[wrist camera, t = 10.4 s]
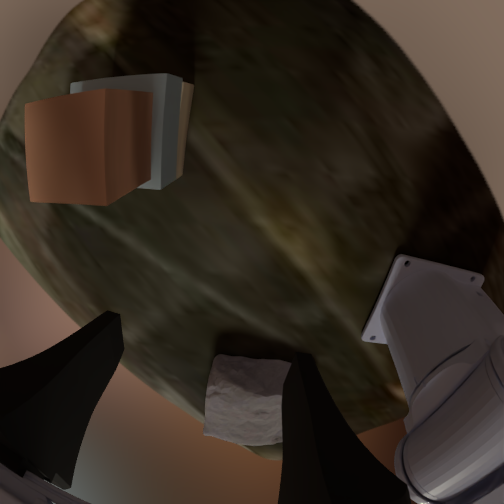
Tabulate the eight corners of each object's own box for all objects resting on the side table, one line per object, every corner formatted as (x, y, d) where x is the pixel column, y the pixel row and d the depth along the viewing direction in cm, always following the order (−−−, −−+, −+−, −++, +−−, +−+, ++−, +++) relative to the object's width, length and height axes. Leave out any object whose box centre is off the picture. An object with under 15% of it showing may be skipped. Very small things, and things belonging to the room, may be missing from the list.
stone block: (314, 348, 27) (205, 347, 25) (328, 388, 23) (205, 391, 21) (286, 413, 32) (202, 414, 31) (293, 446, 28) (203, 449, 27)
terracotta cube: (153, 92, 13) (105, 88, 9) (151, 179, 15) (106, 206, 11) (80, 99, 13) (24, 104, 9) (82, 177, 15) (30, 201, 11)
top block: (182, 78, 14) (167, 73, 12) (175, 179, 17) (160, 189, 15) (94, 84, 15) (70, 83, 12) (92, 174, 17) (70, 184, 15)
